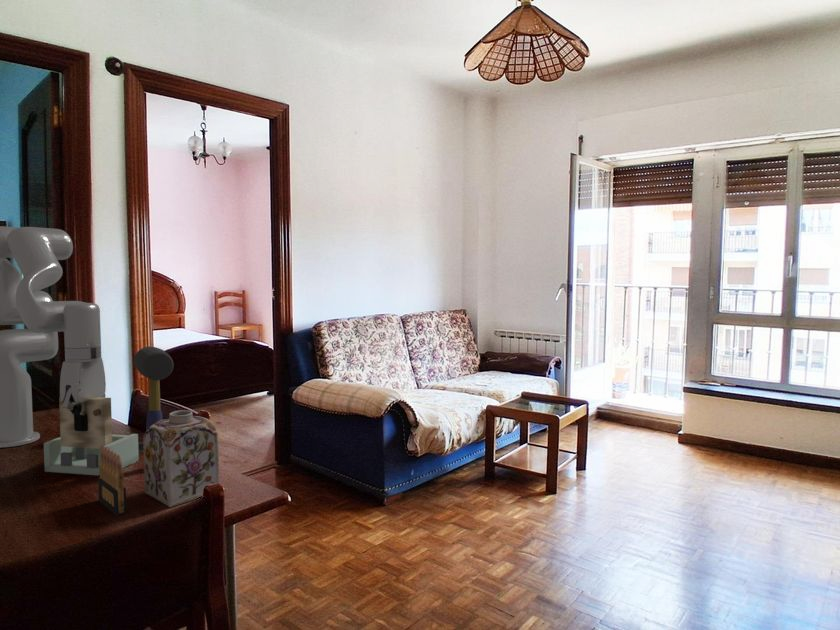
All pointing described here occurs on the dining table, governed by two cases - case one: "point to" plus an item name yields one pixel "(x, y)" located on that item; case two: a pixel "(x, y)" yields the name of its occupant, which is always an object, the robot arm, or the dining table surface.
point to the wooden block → (97, 425)
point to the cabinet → (88, 455)
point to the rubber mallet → (153, 377)
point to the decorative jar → (180, 458)
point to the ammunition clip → (111, 482)
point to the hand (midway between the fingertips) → (86, 428)
